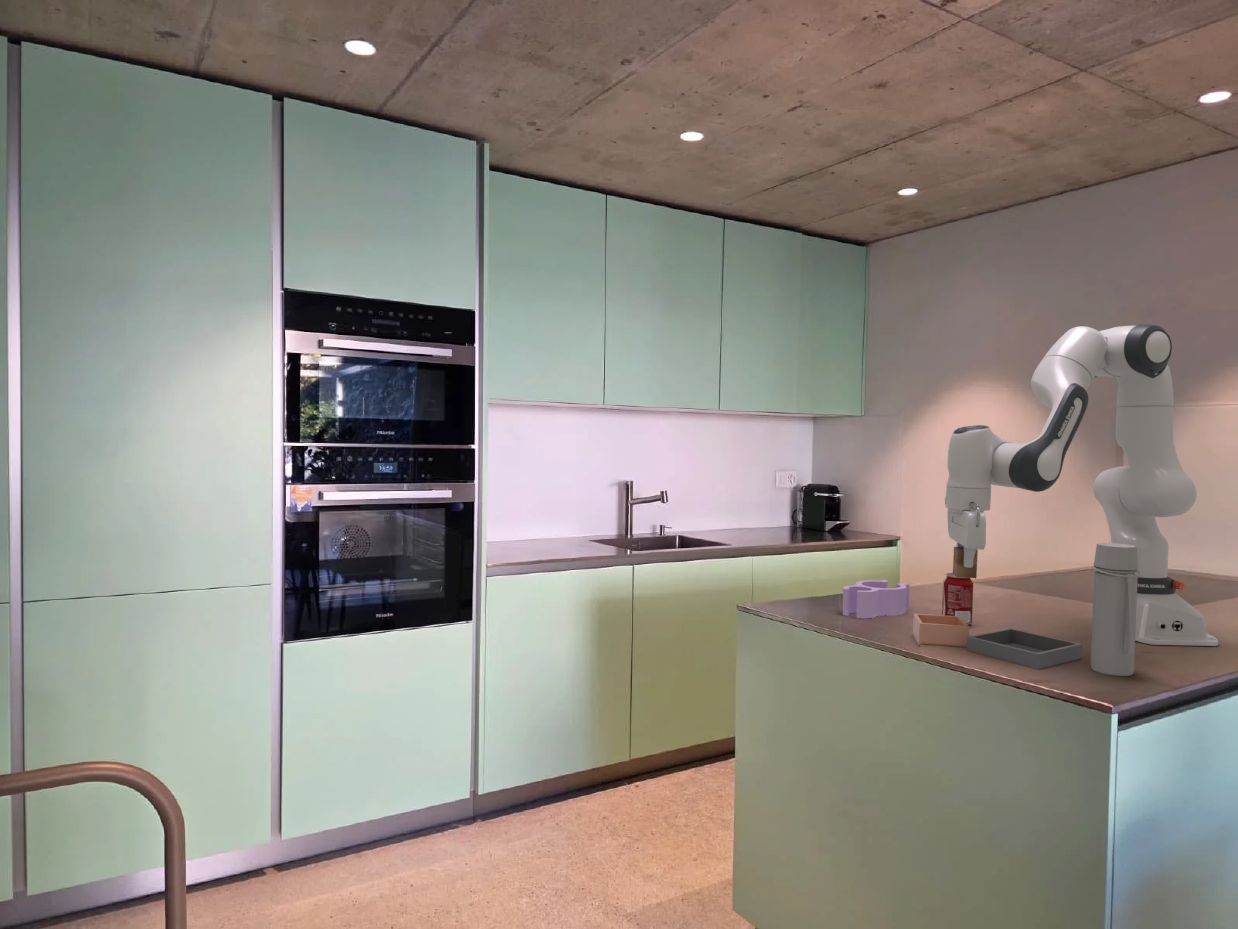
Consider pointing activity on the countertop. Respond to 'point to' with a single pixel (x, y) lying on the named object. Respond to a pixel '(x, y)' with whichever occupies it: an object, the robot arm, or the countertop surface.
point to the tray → (1024, 648)
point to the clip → (875, 599)
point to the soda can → (957, 597)
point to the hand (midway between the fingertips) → (964, 565)
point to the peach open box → (940, 630)
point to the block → (958, 564)
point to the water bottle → (1114, 609)
